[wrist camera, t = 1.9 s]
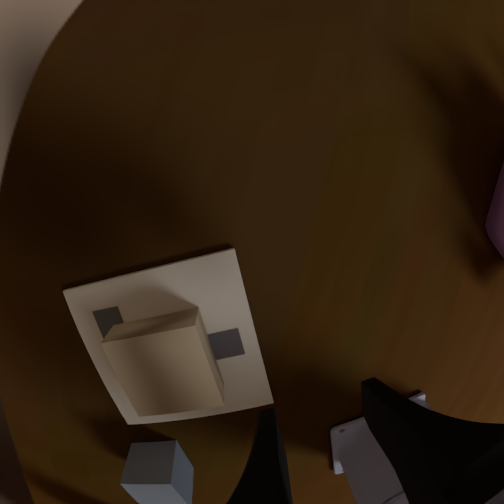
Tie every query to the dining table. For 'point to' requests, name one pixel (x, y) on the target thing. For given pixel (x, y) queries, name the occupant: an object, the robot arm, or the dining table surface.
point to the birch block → (165, 363)
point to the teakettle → (497, 215)
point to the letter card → (170, 301)
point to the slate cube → (158, 473)
